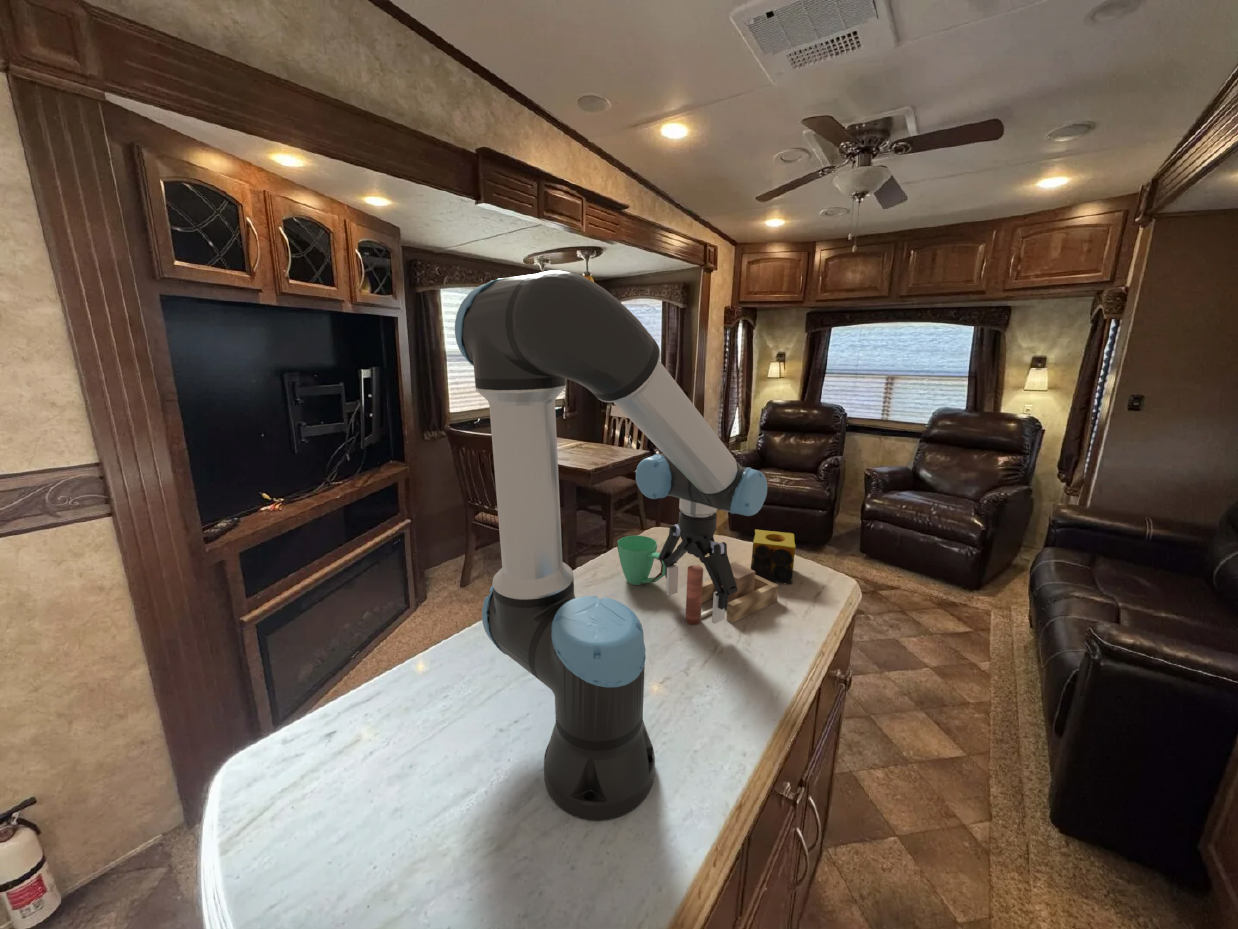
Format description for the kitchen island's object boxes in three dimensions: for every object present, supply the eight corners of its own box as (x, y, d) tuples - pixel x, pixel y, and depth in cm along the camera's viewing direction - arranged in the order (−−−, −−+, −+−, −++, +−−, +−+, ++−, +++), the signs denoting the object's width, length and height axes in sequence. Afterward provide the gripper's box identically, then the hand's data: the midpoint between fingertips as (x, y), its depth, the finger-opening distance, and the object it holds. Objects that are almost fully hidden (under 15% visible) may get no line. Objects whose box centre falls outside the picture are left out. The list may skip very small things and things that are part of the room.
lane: (731, 623, 102) (733, 606, 101) (694, 601, 111) (695, 585, 110) (777, 601, 111) (778, 585, 110) (739, 582, 120) (740, 567, 119)
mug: (608, 580, 121) (608, 542, 118) (635, 568, 127) (636, 532, 125) (652, 601, 110) (653, 561, 108) (679, 587, 117) (681, 549, 115)
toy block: (749, 579, 121) (752, 542, 119) (750, 563, 131) (753, 528, 128) (792, 585, 118) (796, 547, 116) (790, 568, 128) (794, 532, 125)
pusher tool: (697, 629, 100) (700, 576, 97) (677, 616, 104) (679, 565, 101) (752, 603, 110) (756, 554, 107) (732, 593, 114) (735, 545, 112)
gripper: (761, 525, 89) (753, 627, 94) (669, 493, 109) (667, 579, 114) (734, 534, 85) (727, 641, 90) (644, 499, 105) (642, 588, 110)
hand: (693, 606), depth 102 cm, fingers open, 13 cm apart
